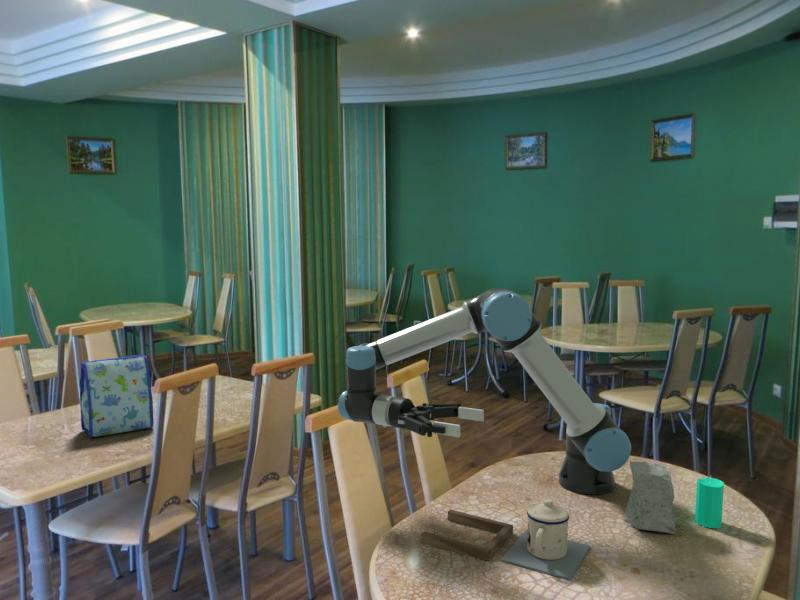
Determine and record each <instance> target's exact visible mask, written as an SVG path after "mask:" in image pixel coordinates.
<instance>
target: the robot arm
mask: <svg viewBox="0 0 800 600" xmlns="http://www.w3.org/2000/svg"><path fill="white" fill-rule="evenodd" d="M541 330H542V323H541V322H540V321H539V319H538V318H537V317H536V315H535V314H534V313H533V311H532V309H531V308H530V304H529V303H528V301H527V300H526V299H525V298H524V297H523V296H521V295H520V294H519V293H516V292H515V291H513V290H511V289H508V288H507V287H506V288H505V287H494V288H490V289H489V290H486V291H484V292H482V293H481V294H479V295H477V296H475V297H474V296H473V298H470V299H467V300H465V301H463V303H462V306H460V307H457V308H454V309H453V310H450V311H447V312H445V313H442V314H440V315H437V316H435V317H432V318H430V319H426V320H425V321H421V322H420V323H416V324H415V325H412V326H409V327H406V328H404V329H402V330H400V331H397V332H395V333H391V334H389V335H386V336H384V337H382V338H379V339H377V340H374V341H372V342H369V343H367V342H365V343H362V344H360V345H356V346H355V345H354V346H351V347H348V348H347V349H346V355H345V358H346V359H345V364H346V365H345V366H346V382H347V383H346V384H347V386H346V389H347V390H345V391H343V392H342V393H341V394H340V396H339V397H338V403H337V411H338V414H339V415H340V417H341V418H342V419H345V420H349V421H353V422H355V423H366V424H373V425H379V426H382V427H383V428H387V427H392V428H397V429H403V430H405V429H406V430H409V431H411V432H413V433H415V434H417V435H420V436H423V437H424V436H427V438H431V437H433V434H435V435H439V436H440V435H441V436H448V437H453V438H461V424H457V423H456V424H455V423H449V422H442V421H436V420H435V419H441V418H442V419H443V418H455V417H457V418H458V419H463V420H469V421H477V422H484V421H485V409H478V408H473V407H472V408H471V407H465V406H462V404H461V402H457V403H426V402H423V403H422V405H421V404H419V405H416V406H415V405H414V402H413V401H412V399H410V398H407V397H406V398H405V397H400V396H397V397H396V396H395V395H394V396H393V395H386V394H377V372H376V371H377V370H379V369H381V368H384V367H387V366H388V365H389V366H390V365H391V364H395V363H397V362H399V361H402V360H404V359H407V358H409V357H412V356H415V355H418V354H420V353H422V352H424V351H425V352H426V351H427V350H430V349H432V348H435V347H437V346H441V345H443V344H445V343H447V342H451V341H454V340H456V339H458V338H460V337H463V336H466V335H469V334H472V333H473V334H476V335H479V334H481V333H483V332H488V334H490V335H491V336H492V337H493V339H494V341H496V344H498V345H499V346H500V347H501V349H502V350H503V352H505V353H511V354H512V355H514V356H515V358H516V359H517V360H518V363H520V364H521V366H522V367H523V368H524V370H525V372H527V373H528V375H529V377H531V379H532V380H533V382H534V383H535V385H536V386H537V387H538V389H540V391H541V392H542V393H543V395H544V396H545V398H546V399H547V400H548V401H549V403H550V404H551V405H552V407H553V408H554V409H555V411H556V412H557V413H558V415H559V417H561V419H562V420H563V421H564V423H565V424H566V432H565V434H566V437H565V438H566V439H565V457H564V459H563V461H562V465H561V468H560V470H559V473H558V483H559V485H560V486H561V487H563V488H564V489H566V490H568V491H571V492H575V493H578V494H583V495H604V494H608V493H611V492H612V491H613V490H614V489H615V486H616V485H615V483H616V480H615V478H616V477H615V475H614V473H613V471H617V470H619V469H621V468H622V467H624V466H625V464H627V462H628V461H629V458H630V456H631V454H632V453H631V452H632V444H631V441H630V438H629V437H628V435H627V433H626V432H625V431H624V430H622V429H621V428H620V427H619V426H618V425H617V423H616V422H615V420H614V419H613V417H612V416H611V415H612V412H611V410H612V409H611V407H610V406H609V405H607V404H604V403H596V402H593V401H592V399H591V398H590V397H589V396H588V395H587V393H586V392H585V391H584V389H583V387H582V386H581V385H580V384H579V383H578V381H577V380H576V378H575V377H574V376H573V374H572V373H571V372H570V370H568V368H567V366H566V365H565V364H564V363H563V361H562V360H561V359H560V357H559V356H558V355H557V353H556V352H555V351H554V349H553V348H552V346H551V345H550V344H549V343H548V341H547V340H546V339H545V337H544V336H543V335H542V334H541ZM434 420H435V421H434ZM432 421H433V422H432Z"/></svg>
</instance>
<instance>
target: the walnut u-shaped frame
mask: <svg viewBox="0 0 800 600" xmlns="http://www.w3.org/2000/svg"><path fill="white" fill-rule="evenodd" d="M447 520H448V521H452V522H456V523H458V524H459V523H460V524H465V525H468V526H472V527H476V528H480V529H484V530H487V531H490V532H495V533H496V535H495V536H494V537H493V538H492V539H491V540H490V541H489V542H488V543H487V544H486V545H485V546H480V545H477V544H472V543H469V542H466V541H462V540H458V539H455V538H451V537H448V536H443V535H440V534H437V533H432V532H429V531H425V530H424V531H423V532H421V533H420V541H421V543H424V544H426V545H430V546H433V547H437V548H440V549H441V548H442V549H444V550H447V551H452V552H455V553H458V554H462V555H465V556H469V557H472V558H477V559H480V560H482V561H490V560H491V558H492V557H493V556H494V554H496V552H498V551H499V549H500V548H501V547H502V546H503V545H504V543H506V541H507V540H508V539H509V538H510V537H511V536H512V535H513V534H514V524H511V523H507V522H503V521H498V520H496V519H495V520H494V519H491V518H490V519H489V518H486V517H483V516H479V515H474V514H470V513H466V512H461V511H459V510H454V509H449V510H447Z"/></svg>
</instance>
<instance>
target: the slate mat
mask: <svg viewBox="0 0 800 600" xmlns="http://www.w3.org/2000/svg"><path fill="white" fill-rule="evenodd" d="M527 533H528V529H526V530H525V531H524V532H523V534H521V536H520V537H519V538H518V539H517V540H516V542H515V543H514V544H513V545H512V546H510V547H511V548H509V550H508V551H507V552H506V553H505V554H504V555H503V557H502V558H500V561H501V562H504V563H506V564H510V565H514V566H517V567H522V568H525V569H529V570H532V571H537V572H539V573H543V574H546V575H550V576H554V577H557V578H561V579H563V580H564V579H565V580H569V581H571V579H572V578H573V575H574V574H575V573H576V571H577V570H578V568H579V566H580V565H581V563H582V562H583V560H584V558H585V557H586V555H587V554H588V553H589V550H591V545H589V544H585V543H581V542H579V541H573V540H570V539H567V553H566V555H565V556H564V557H563V558H560V559H557V560H545V559H541V558H538V557H535V556H533V555H532V554H531V553H530V552H529V551H528V549H527Z"/></svg>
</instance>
